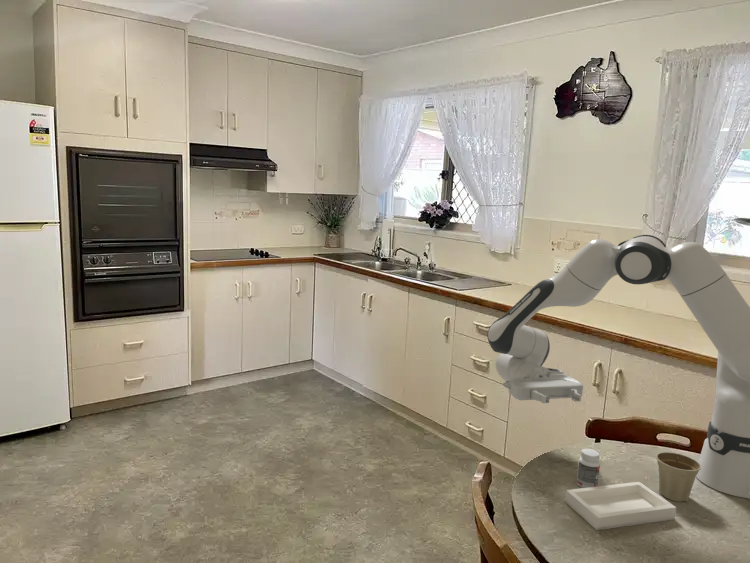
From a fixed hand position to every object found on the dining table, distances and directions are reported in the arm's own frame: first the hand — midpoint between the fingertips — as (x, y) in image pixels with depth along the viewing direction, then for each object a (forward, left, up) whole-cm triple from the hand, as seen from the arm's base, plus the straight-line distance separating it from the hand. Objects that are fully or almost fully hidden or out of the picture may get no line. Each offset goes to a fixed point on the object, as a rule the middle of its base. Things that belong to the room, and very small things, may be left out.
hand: (562, 399), depth 142 cm
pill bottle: (0, +12, -17) cm, 21 cm away
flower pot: (-18, +20, -17) cm, 32 cm away
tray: (0, +23, -17) cm, 29 cm away
